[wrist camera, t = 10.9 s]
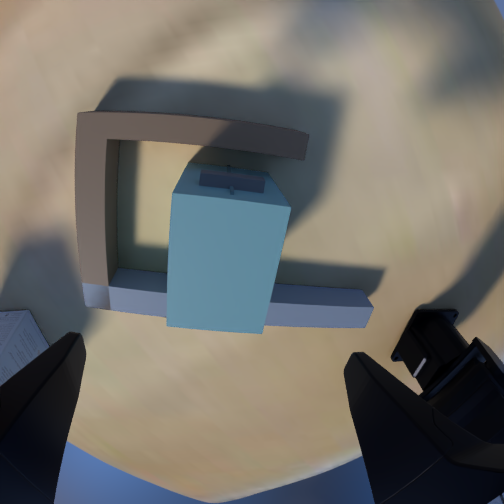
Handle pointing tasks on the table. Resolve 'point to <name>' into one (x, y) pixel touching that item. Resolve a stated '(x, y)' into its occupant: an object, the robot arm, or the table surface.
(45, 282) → the table surface
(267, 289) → the blue block with grip
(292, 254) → the table surface
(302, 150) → the u-shaped bar frame
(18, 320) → the small box
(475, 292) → the table surface
